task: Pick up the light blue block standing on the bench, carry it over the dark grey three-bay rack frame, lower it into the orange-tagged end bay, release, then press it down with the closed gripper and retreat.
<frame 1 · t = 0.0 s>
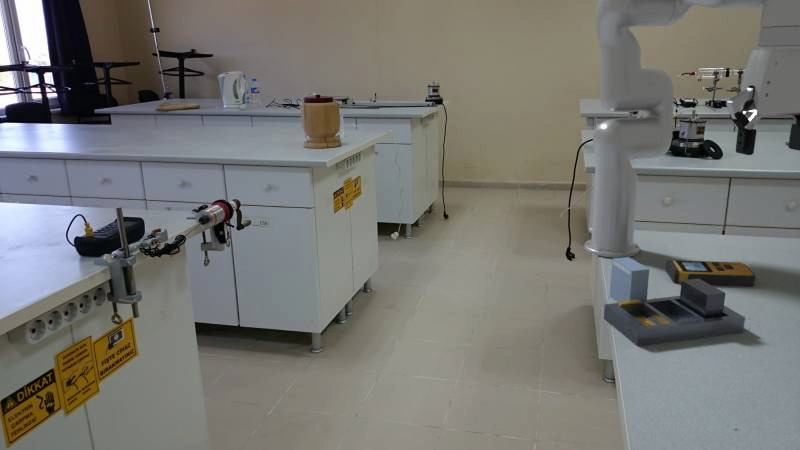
hand: (771, 151, 97), 31 cm above the countertop, fingers open, 9 cm apart
light blue block: (627, 302, 119), on the countertop
electronic device: (708, 280, 130), on the countertop
rack: (671, 325, 109), on the countertop
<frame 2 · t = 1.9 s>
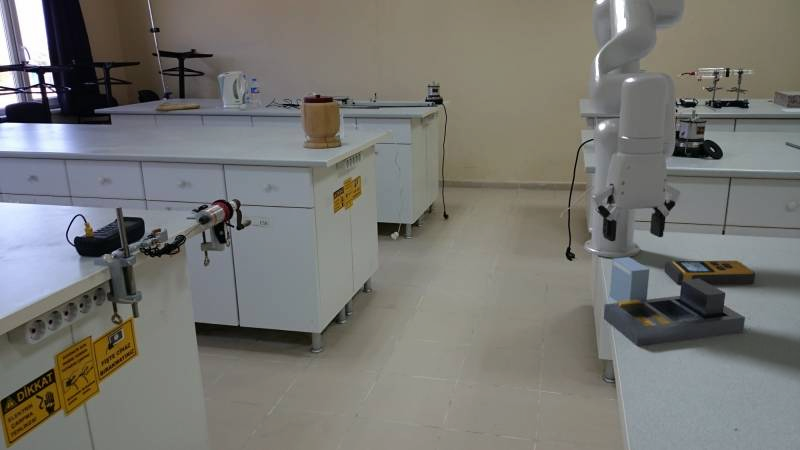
hand: (633, 237, 114), 13 cm above the countertop, fingers open, 9 cm apart
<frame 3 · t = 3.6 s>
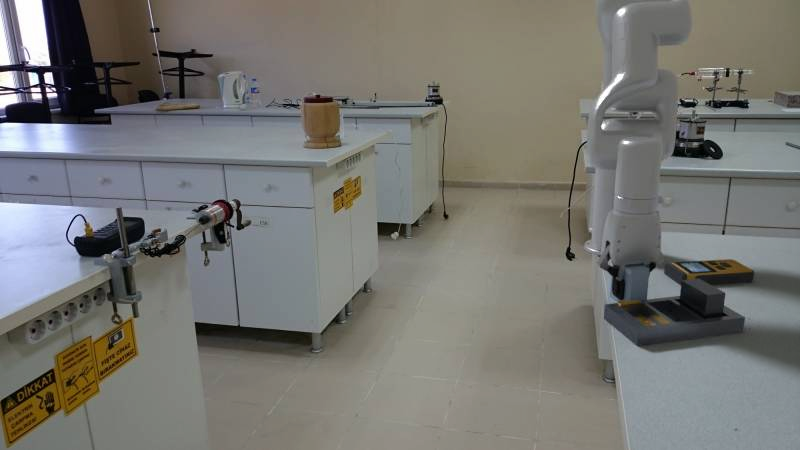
hand: (628, 295, 118), 1 cm above the countertop, fingers closed on light blue block, 3 cm apart
light blue block: (627, 302, 119), on the countertop, touching gripper
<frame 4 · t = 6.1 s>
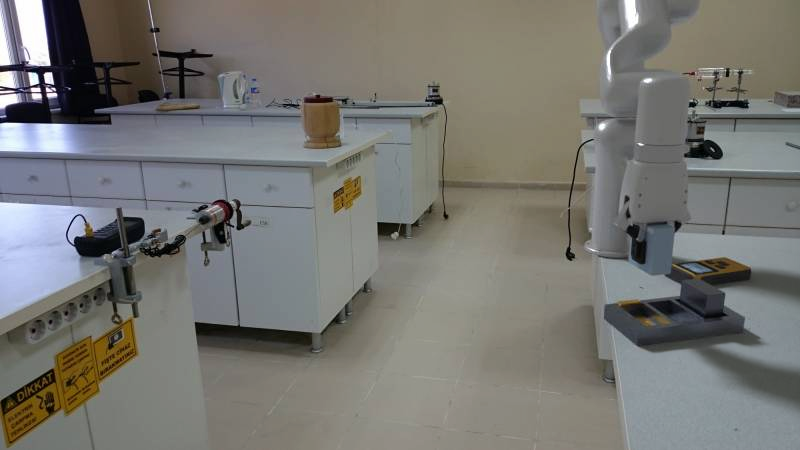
hand: (649, 259, 104), 13 cm above the countertop, fingers closed on light blue block, 3 cm apart
light blue block: (648, 267, 104), point 12 cm above the countertop, touching gripper
when the fingers open (3 cm above the countertop, at t = 8.6 s): light blue block drops 1 cm, resting on rack.
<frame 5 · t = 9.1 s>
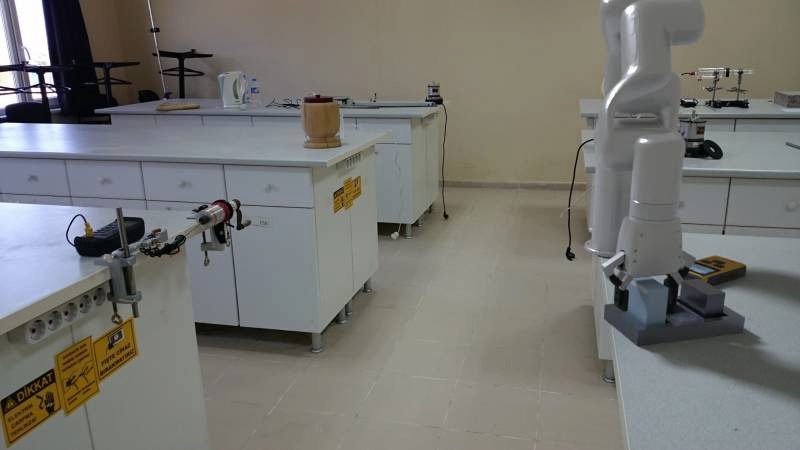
hand: (645, 305, 107), 4 cm above the countertop, fingers open, 8 cm apart
light blue block: (643, 323, 108), point 1 cm above the countertop, touching rack
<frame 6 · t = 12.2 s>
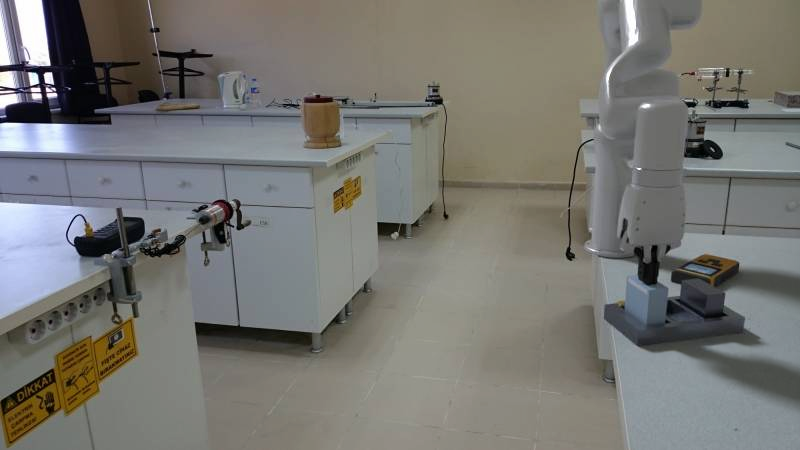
hand: (647, 281, 105), 9 cm above the countertop, fingers closed
light blue block: (643, 323, 108), point 1 cm above the countertop, touching gripper, rack
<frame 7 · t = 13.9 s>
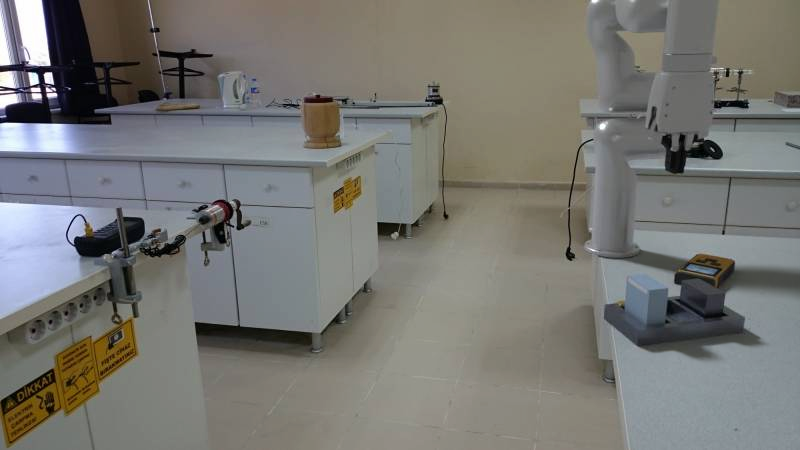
hand: (674, 171, 108), 26 cm above the countertop, fingers closed
light blue block: (643, 323, 108), point 1 cm above the countertop, touching rack
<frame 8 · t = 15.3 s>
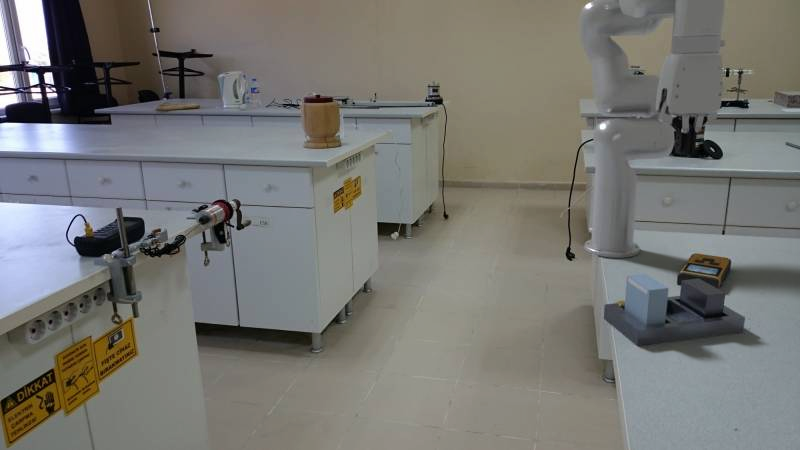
hand: (684, 154, 109), 29 cm above the countertop, fingers closed
at the end: light blue block 0.0 cm from the target spot on the rack, point 0.9 cm above the rack's base; light blue block tilted 0°; the gripper is holding nothing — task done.
